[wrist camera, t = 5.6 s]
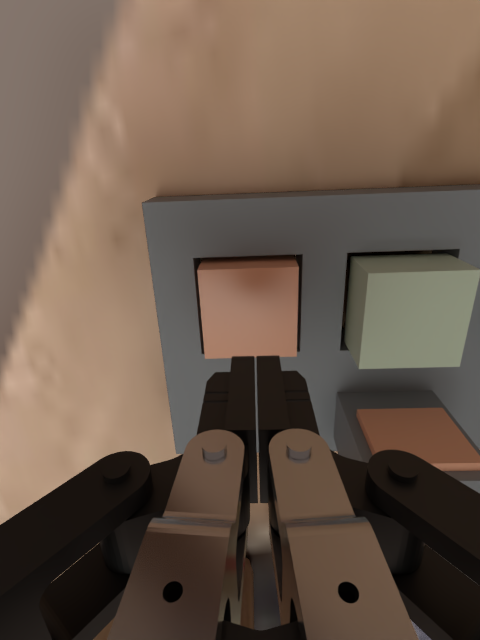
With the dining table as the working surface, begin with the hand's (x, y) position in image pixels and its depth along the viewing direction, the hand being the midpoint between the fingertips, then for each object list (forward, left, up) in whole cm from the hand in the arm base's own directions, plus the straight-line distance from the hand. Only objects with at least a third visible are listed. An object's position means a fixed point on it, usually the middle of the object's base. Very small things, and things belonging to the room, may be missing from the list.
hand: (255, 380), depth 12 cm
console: (-7, +2, -9) cm, 12 cm away
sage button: (-7, 0, -7) cm, 10 cm away
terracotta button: (0, 0, -8) cm, 8 cm away
